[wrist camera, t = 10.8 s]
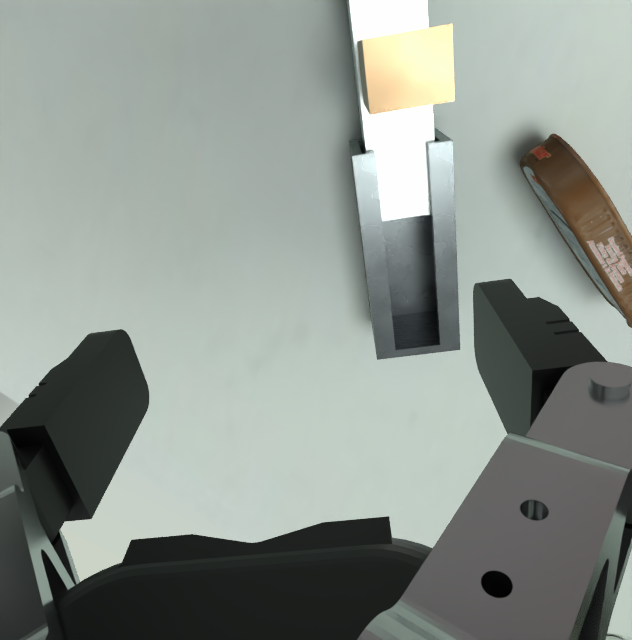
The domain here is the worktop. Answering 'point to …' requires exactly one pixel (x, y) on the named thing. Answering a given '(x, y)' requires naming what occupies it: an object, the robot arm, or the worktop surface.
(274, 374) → the worktop surface
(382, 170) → the slider with block handle
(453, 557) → the robot arm
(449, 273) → the sleeve
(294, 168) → the worktop surface
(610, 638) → the drinking glass
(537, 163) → the tin
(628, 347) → the worktop surface
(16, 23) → the worktop surface
